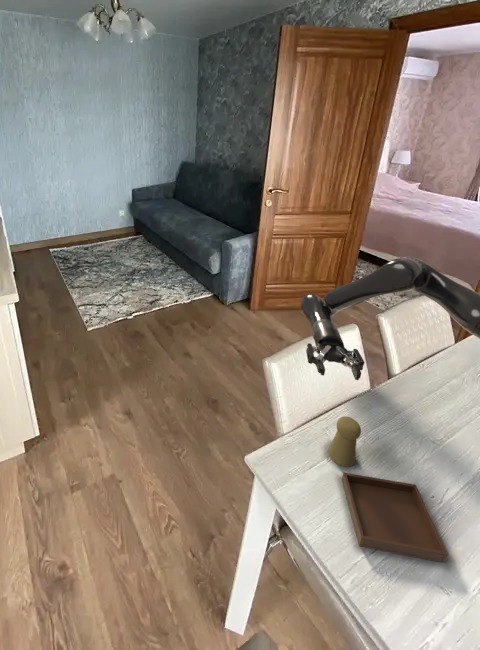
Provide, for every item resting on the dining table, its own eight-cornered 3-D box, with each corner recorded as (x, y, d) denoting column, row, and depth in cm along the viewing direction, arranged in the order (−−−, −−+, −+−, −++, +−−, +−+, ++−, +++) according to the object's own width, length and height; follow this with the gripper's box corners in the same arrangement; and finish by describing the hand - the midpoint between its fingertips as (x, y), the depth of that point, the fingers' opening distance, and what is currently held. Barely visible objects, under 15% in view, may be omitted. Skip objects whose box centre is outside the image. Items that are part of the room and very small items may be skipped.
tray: (413, 491, 77) (416, 484, 76) (444, 563, 65) (448, 555, 64) (341, 479, 80) (343, 472, 79) (358, 546, 68) (361, 538, 67)
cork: (323, 453, 86) (331, 421, 81) (335, 439, 89) (343, 407, 85) (347, 472, 81) (357, 438, 77) (359, 456, 85) (368, 424, 81)
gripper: (304, 323, 104) (314, 360, 89) (354, 329, 102) (373, 367, 87) (300, 343, 107) (309, 382, 92) (349, 349, 105) (366, 390, 90)
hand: (340, 375), depth 90 cm, fingers open, 8 cm apart
